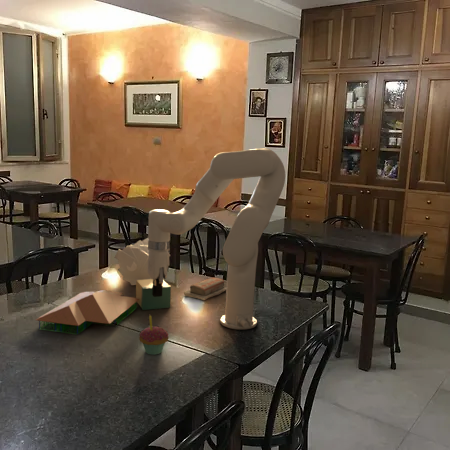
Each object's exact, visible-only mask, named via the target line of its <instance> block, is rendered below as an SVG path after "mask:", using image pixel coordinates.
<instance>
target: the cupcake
mask: <svg viewBox="0 0 450 450" xmlns="http://www.w3.org/2000/svg"><path fill="white" fill-rule="evenodd" d="M148 319H149V326H148V327H145V328H144V329H142V330H141V331H140V333H139V334H138V336H139V337H138V340H139V342H140V343H141V344H142V345H143V347H144V351H145V353H146V354H148V355H153V356H154V355H159V354H161V353H162V352H163V349H164V346H165V344H166V343H168V342H169V339H170V337H169V333H168V331H167V330H166V329H164V328H163V327H161V326H156V325H155V326H153V319H152V315H149V316H148Z"/></svg>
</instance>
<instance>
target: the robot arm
mask: <svg viewBox="0 0 450 450" xmlns="http://www.w3.org/2000/svg"><path fill="white" fill-rule="evenodd" d="M247 178H258V180H257V183H256V186H255V187H254V189H253V192H252V195H251V196H250V199H249V200H248V203H247V204H246V206H245V207H243V208H242V209H241V210H240V211H239V212H238V213H237V215H236V217H235V218H234V221H233V224H232V226H231V227H230V230H229V232H228V234H227V237H226V239H225V241H224V244H223V247H222V256H223V259H224V261H225V262H226V264H227V274H226V291H225V307H224V309H225V311H224V313H225V314H224V315H222V316H221V317H220V321H219V322H220V325H222V326H223V327H226V328H228V329H231V330H240V331H241V330H250V329H253V328H255V327H256V326H257V325H258V320H257V319H256V318H255V317H254V305H255V302H254V301H255V290H256V289H255V288H256V275H257V273H256V272H257V262H258V255H259V241H260V240H261V237H262V234H263V233H264V232H265V230H266V229H267V228H268V226H269V225H270V220H271V218H272V215H273V213H274V211H275V208H276V206H277V204H278V202H279V199H280V197H281V195H282V192H283V189H284V187H285V184H286V183H285V182H286V169H285V165H284V162H283V161H282V159H281V157H280V156H279V155H278V154H277V153H276V151H274V150H272V149H269V148H264V147H263V148H253V149H245V150H238V151H223V152H219V153H216V154H215V155H214V157H213V158H212V159H211V161H210V167H208V170H207V171H206V172H205V173H204V174H203V175H202V177H201V178H200V179H199V180H198V181H197V183H196V184H195V189H194V193H193V195H192V196H191V198H190V199H189V200H188V201H187V203H186V204H185V205H184V206H183V207H182V208H181V209H180V210H178V211H175V212H171V211H169V210H167V209H160V208H159V209H158V208H157V209H152V210H150V211H149V213H148V227H147V228H148V229H147V230H148V233H147V238H148V250H149V258H148V274H149V275H150V276H151V278H152V279H153V284H154V285H153V289H152V295H153V296H154V297H160V296H162V288H163V280H166V279H167V278H168V270H167V251H168V252H169V251H170V249H171V235H176V236H177V235H184V234H185V233H187V232H188V231H190V230H192V229H194V228H195V227H196V225H197V224H198V223H199V222H200V221H201V220H202V219H203V218H204V216H205V215H206V214H207V213H208V212H209V210H210V209H211V208H212V206H213V205H214V204H215V203H216V201H217V200H218V198H219V197H220V196H221V195H222V194H223V193H224V191H225V190H226V189H227V188H228V187H229V186H230V185H231V183H232V182H234V180H238V179H247Z"/></svg>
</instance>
